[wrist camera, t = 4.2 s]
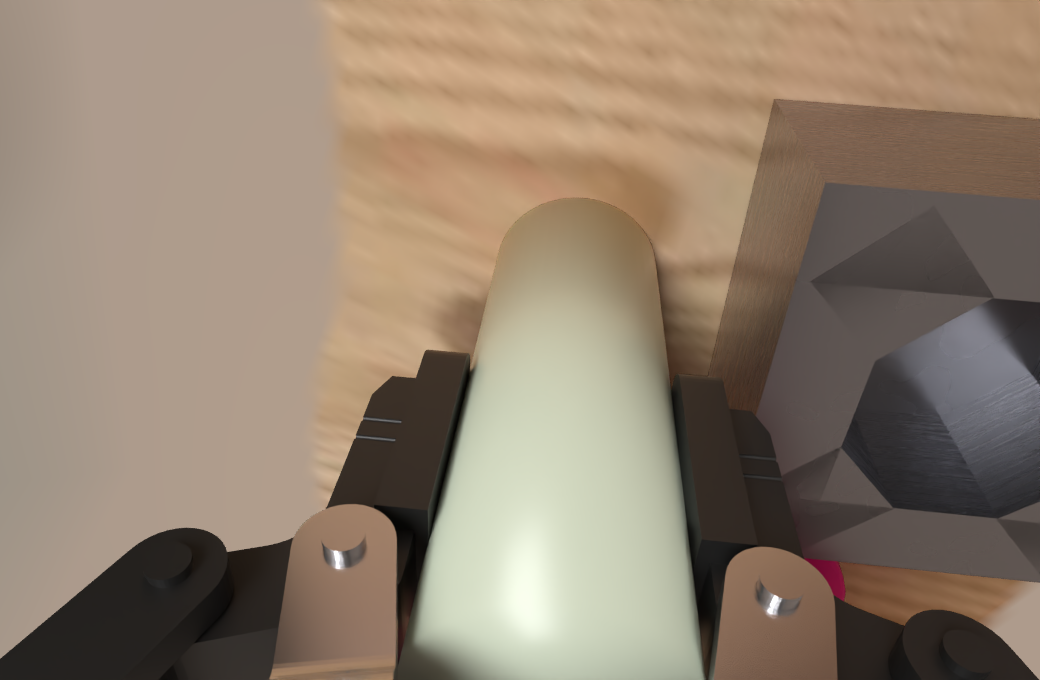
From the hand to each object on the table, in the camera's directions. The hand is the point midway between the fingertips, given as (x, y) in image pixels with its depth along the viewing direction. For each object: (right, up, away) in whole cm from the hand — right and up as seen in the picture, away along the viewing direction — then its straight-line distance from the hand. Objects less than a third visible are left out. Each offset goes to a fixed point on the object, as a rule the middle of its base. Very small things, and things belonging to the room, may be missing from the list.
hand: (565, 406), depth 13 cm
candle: (0, +3, +4) cm, 5 cm away
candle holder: (+8, +2, +3) cm, 9 cm away
